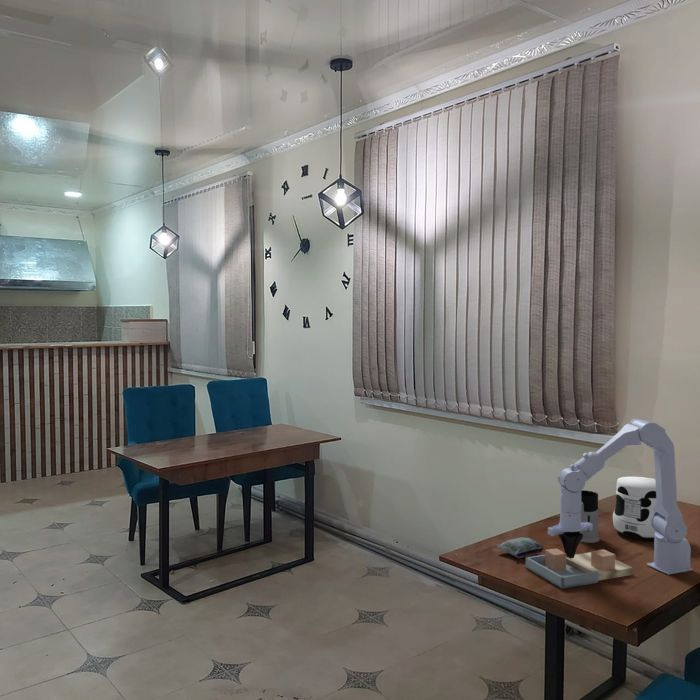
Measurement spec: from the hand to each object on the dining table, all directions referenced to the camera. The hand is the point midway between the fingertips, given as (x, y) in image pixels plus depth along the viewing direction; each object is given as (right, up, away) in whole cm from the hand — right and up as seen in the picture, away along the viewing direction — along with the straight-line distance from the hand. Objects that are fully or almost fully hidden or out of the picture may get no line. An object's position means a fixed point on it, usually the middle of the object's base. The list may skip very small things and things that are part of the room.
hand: (569, 557), depth 187 cm
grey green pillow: (-11, -3, +11) cm, 16 cm away
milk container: (+34, -2, +30) cm, 45 cm away
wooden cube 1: (-3, 0, -1) cm, 3 cm away
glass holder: (+13, -2, +24) cm, 27 cm away
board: (+8, -3, -1) cm, 8 cm away
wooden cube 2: (+8, -1, -4) cm, 9 cm away
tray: (-4, -3, -5) cm, 8 cm away
